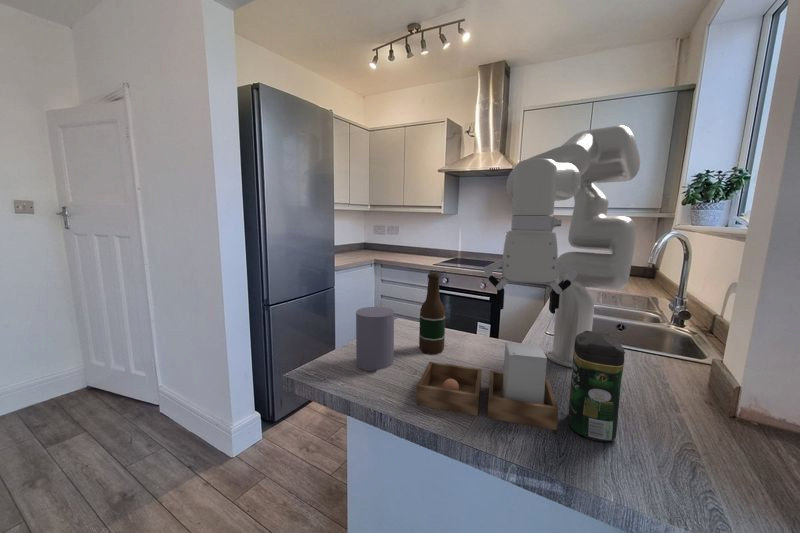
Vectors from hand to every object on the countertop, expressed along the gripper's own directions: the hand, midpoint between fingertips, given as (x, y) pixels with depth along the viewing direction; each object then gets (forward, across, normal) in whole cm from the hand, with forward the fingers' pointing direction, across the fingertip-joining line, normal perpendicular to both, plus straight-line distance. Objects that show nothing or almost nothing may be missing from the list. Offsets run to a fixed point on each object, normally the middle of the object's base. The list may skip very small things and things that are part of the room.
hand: (526, 309), depth 65 cm
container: (+22, +37, -11) cm, 44 cm away
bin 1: (+22, +15, 0) cm, 26 cm away
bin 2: (+22, 0, 0) cm, 22 cm away
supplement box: (+21, 0, 0) cm, 21 cm away
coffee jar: (+22, -13, +2) cm, 26 cm away
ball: (+21, +15, 0) cm, 26 cm away
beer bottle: (+22, +24, -26) cm, 42 cm away
